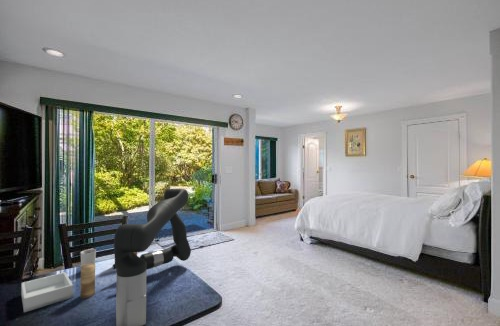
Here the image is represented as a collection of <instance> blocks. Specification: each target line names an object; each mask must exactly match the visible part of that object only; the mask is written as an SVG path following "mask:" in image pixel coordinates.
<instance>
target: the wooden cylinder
mask: <svg viewBox="0 0 500 326" xmlns="http://www.w3.org/2000/svg"><path fill="white" fill-rule="evenodd" d="M95 294H96V263H95V264H86V265H83V266H81V265H80V298H81V299H88V298H91V297H93V296H95Z"/></svg>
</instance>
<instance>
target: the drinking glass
mask: <svg viewBox="0 0 500 326" xmlns="http://www.w3.org/2000/svg"><path fill="white" fill-rule="evenodd" d="M96 256H97V249H94V248H90V249H85V250H82V251H80V267H81V266H83V265H86V264H95V265H96Z"/></svg>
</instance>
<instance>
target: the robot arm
mask: <svg viewBox="0 0 500 326" xmlns="http://www.w3.org/2000/svg"><path fill="white" fill-rule="evenodd" d="M163 197H164V199H163V200H160V201H158V202H156V203H155V204H153V205H152V206H151V207H150V208H149V209H148V211H147V214H146V220H147V221H146V223H124V224H120V225H119V226H118V227H117V229H116V231H115V233H114V238H113V251H114V255H113V256H114V263H113V264H112V270H116V291H115V293H116V294H115V295H116V297H115V301H116V303H115V307H116V309H115V310H116V311H115V315H116V316H115V320H116V321H115V326H144V325H146V324H147V275H148V274H147V273H148V272H147V270H151V269H153V268H157V267H160V266H162V265H166V264H168V263H171V262H172V261H173V260H174V258H177V259H179V260H180V261H183V262H184V261H187V260H188V259H189V258H190V256H191V255H192V254H191V253H192V252H191V246H190V243H189V240H188V236H187V228H186V227H187V226H186V225H185V222H184V220H182V218H181V217H180V215H178V212H179V210H182V208H185V206H186V205H187V203H188V201H189V192H188V191H187V190H186V189H185V188H168V189H166V190H165V192H164V195H163ZM169 222H170V227H171V232H172V239H173V243H174V244H173V245H172V246H169V247H168V248H164V249H161V250H154V251H150V252H146V253H142V252H145V251H146V250H148V248H150V246H151V245H152V243H153V242H154V241H155V239H156V237H157V235H158V234H159V233H160V232H161V230H162V229H163V228H164V227H165V226H166V224H168V223H169ZM133 252H137V253H142V254H141V255H140V256H138V255H137V256H136V255H135V254H134V253H133Z"/></svg>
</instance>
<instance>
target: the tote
mask: <svg viewBox="0 0 500 326" xmlns="http://www.w3.org/2000/svg"><path fill="white" fill-rule="evenodd" d="M20 290H21V294H20V295H21V302H22V308H23V309H22V310H23V313H27V312H30V311H33V310H37V309H40V308H43V307H46V306H49V305H53V304H56V303H60V302H63V301H65V300H69V299H72V298H74V285H73V282H72V280H71V279H70V278H69V276H68V274H67V272H65V271H63V272H60V273H56V274H52V275H48V276H45V277H44V276H43V277H40V278H39V277H38V278H36V279H31V280H29V281H28V280H27V281H24V282H21V289H20Z"/></svg>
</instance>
